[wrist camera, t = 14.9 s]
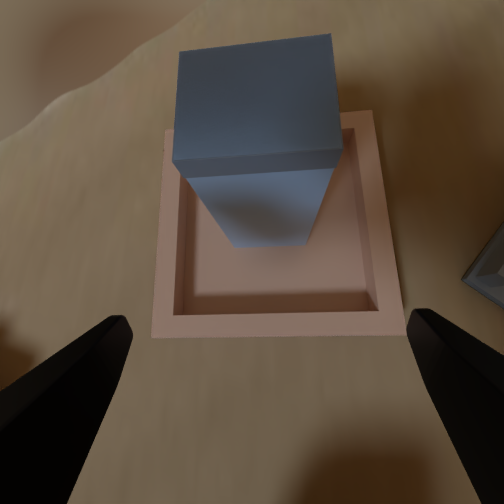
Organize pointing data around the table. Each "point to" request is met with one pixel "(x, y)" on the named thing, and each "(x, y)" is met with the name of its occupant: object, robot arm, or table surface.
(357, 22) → the table surface
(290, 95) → the tall square pillar
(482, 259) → the bay
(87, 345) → the robot arm
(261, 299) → the tray
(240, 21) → the table surface
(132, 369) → the table surface
